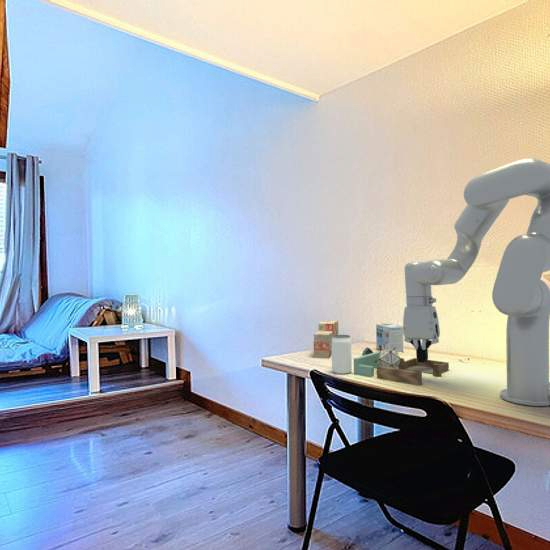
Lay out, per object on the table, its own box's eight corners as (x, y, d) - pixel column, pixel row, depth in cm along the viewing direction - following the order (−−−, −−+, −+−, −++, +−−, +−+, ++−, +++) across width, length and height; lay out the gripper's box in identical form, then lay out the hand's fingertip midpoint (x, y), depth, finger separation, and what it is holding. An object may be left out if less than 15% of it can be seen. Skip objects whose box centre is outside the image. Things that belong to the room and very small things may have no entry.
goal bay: (395, 368, 152) (395, 353, 152) (371, 376, 140) (371, 361, 140) (378, 365, 156) (378, 351, 156) (353, 373, 145) (353, 358, 145)
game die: (391, 382, 148) (403, 356, 151) (398, 379, 140) (411, 351, 143) (367, 368, 149) (379, 343, 152) (372, 364, 141) (386, 337, 144)
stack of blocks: (329, 358, 170) (329, 326, 170) (313, 357, 172) (313, 326, 172) (338, 348, 191) (338, 320, 191) (324, 348, 193) (324, 319, 192)
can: (336, 375, 144) (336, 337, 144) (329, 370, 150) (328, 335, 150) (355, 373, 146) (354, 336, 145) (346, 369, 152) (346, 334, 152)
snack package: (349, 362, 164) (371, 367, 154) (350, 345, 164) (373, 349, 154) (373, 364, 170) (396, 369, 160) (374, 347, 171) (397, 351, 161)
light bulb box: (375, 349, 187) (375, 323, 187) (389, 348, 189) (389, 322, 189) (389, 353, 177) (389, 326, 177) (404, 352, 179) (404, 325, 179)
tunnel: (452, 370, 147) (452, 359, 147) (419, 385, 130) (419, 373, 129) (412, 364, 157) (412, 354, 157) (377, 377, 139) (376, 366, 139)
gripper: (448, 301, 135) (451, 362, 134) (402, 301, 145) (405, 358, 145) (437, 302, 129) (441, 366, 129) (391, 303, 139) (394, 361, 139)
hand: (422, 361), depth 137 cm, fingers closed
